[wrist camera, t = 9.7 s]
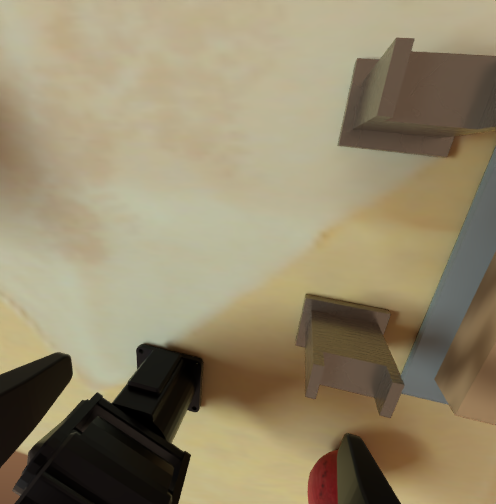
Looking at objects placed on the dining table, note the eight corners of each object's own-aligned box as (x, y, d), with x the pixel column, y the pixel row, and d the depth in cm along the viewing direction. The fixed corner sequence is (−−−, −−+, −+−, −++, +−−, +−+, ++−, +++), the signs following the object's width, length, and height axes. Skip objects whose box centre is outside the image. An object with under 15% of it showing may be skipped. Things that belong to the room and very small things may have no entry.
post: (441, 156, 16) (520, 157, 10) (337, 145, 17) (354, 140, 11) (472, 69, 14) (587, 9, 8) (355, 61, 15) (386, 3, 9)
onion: (309, 423, 25) (311, 537, 17) (376, 435, 24) (408, 562, 16) (305, 465, 27) (305, 583, 19) (366, 477, 26) (391, 608, 18)
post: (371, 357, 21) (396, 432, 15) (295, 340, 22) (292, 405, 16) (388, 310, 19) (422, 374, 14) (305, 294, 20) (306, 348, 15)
